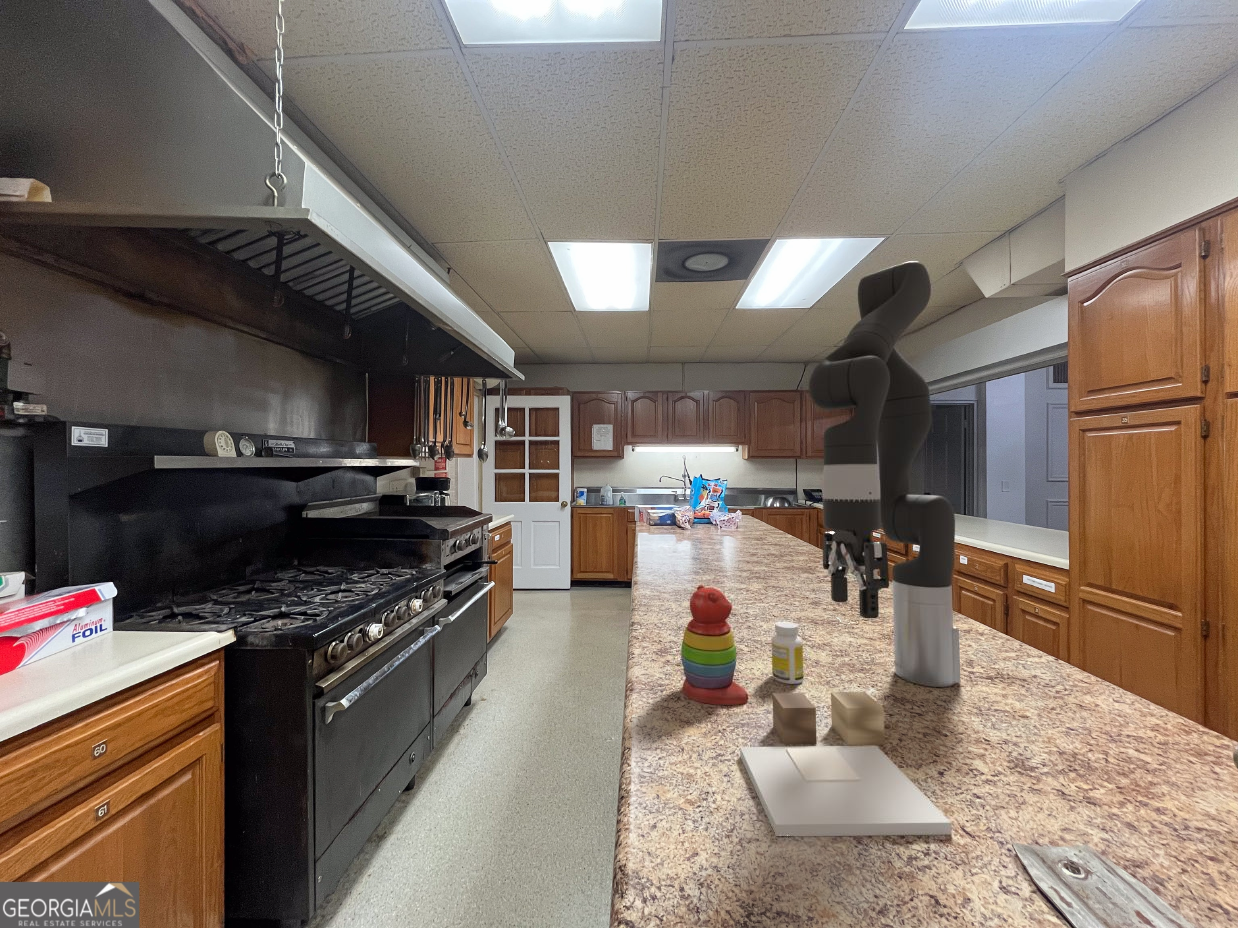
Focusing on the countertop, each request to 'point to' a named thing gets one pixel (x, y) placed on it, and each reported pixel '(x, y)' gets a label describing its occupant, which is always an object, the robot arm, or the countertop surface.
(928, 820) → the build board
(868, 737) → the oak block
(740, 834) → the countertop surface
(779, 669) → the supplement bottle
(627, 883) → the countertop surface
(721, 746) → the countertop surface
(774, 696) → the walnut block
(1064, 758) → the countertop surface
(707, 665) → the stacking bear
